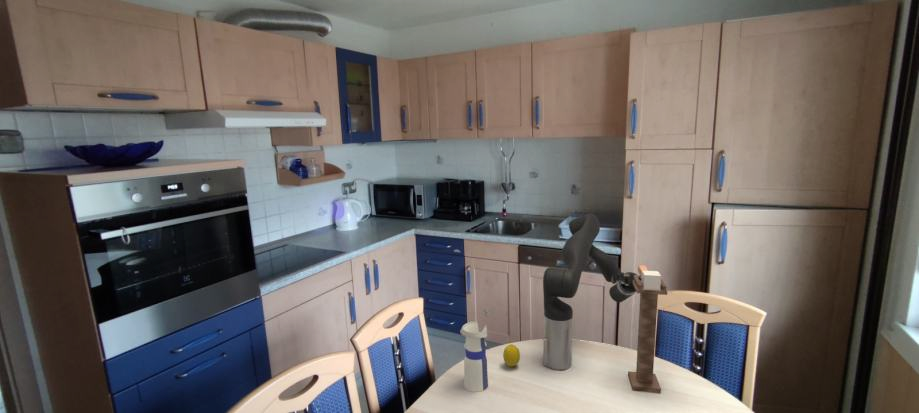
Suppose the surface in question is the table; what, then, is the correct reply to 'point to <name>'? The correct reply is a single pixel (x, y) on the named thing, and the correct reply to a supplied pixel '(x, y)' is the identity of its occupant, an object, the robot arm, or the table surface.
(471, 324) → the white and blue pitcher
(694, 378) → the table surface
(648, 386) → the tall stand
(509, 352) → the lemon
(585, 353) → the table surface
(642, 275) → the plug rod
